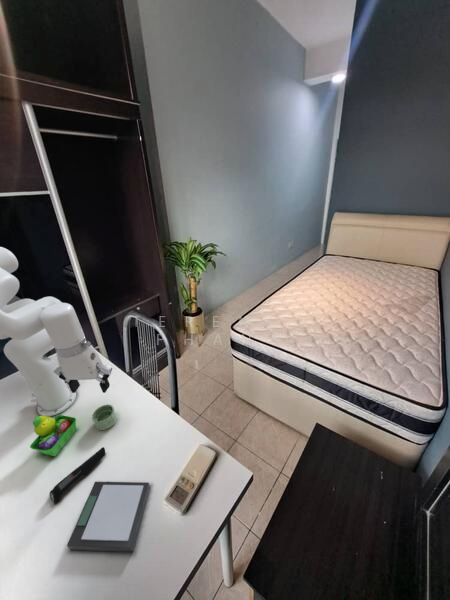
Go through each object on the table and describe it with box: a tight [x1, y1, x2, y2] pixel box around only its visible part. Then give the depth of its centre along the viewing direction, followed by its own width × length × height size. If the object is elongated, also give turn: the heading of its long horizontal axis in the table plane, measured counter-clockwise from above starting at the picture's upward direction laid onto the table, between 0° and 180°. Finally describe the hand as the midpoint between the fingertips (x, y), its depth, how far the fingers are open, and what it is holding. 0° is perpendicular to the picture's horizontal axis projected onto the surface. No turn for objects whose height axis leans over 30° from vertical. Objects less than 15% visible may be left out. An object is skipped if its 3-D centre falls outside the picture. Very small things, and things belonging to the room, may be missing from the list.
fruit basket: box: [29, 414, 77, 458], centre depth 78 cm, size 11×9×11 cm
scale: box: [66, 481, 151, 553], centre depth 62 cm, size 15×13×3 cm
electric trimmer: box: [49, 446, 106, 504], centre depth 70 cm, size 4×16×3 cm, turn 142°
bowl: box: [91, 404, 118, 431], centre depth 85 cm, size 7×7×5 cm
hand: (91, 389), depth 76 cm, fingers open, 9 cm apart
